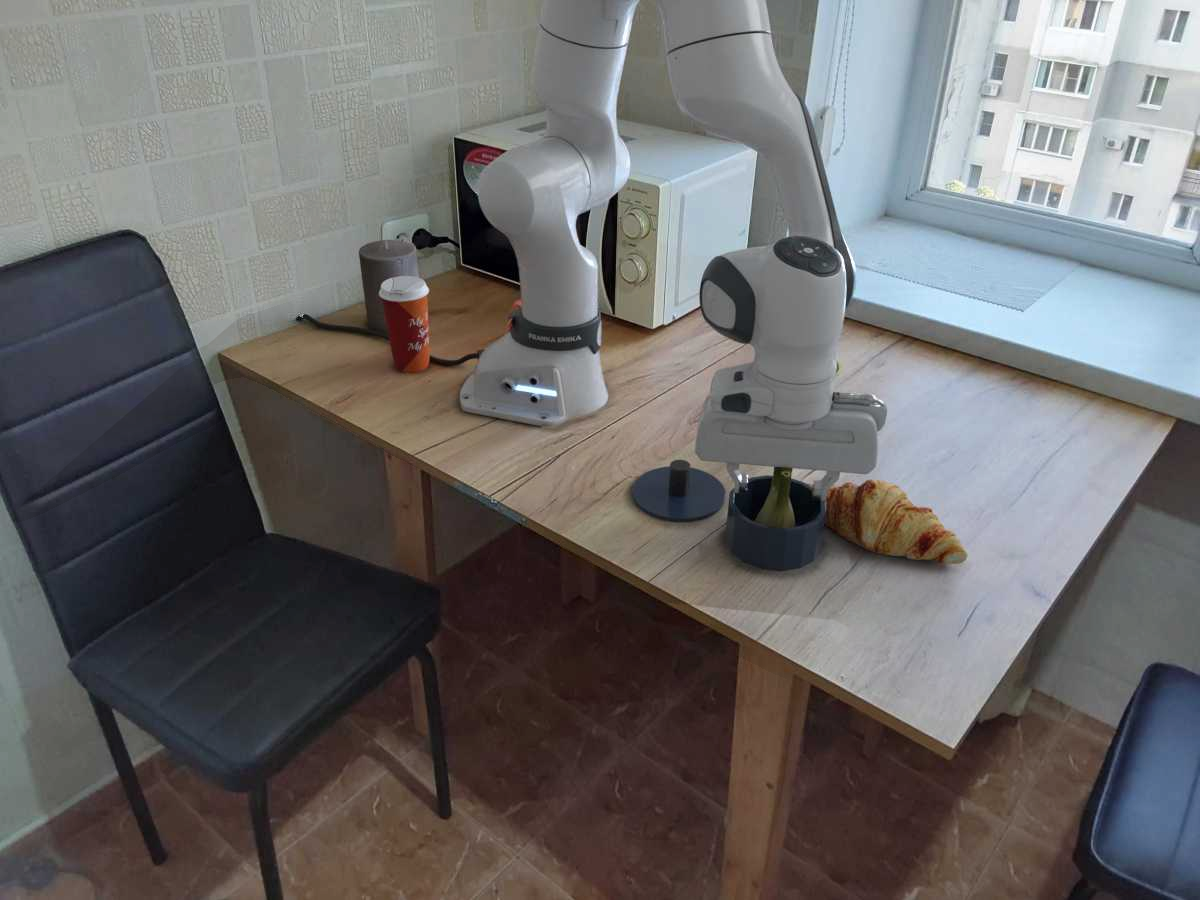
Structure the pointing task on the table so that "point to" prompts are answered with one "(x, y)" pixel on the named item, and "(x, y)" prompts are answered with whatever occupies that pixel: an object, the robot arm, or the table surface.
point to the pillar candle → (384, 274)
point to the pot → (774, 543)
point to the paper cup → (407, 321)
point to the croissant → (889, 523)
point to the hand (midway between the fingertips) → (779, 494)
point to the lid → (678, 493)
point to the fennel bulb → (778, 501)
